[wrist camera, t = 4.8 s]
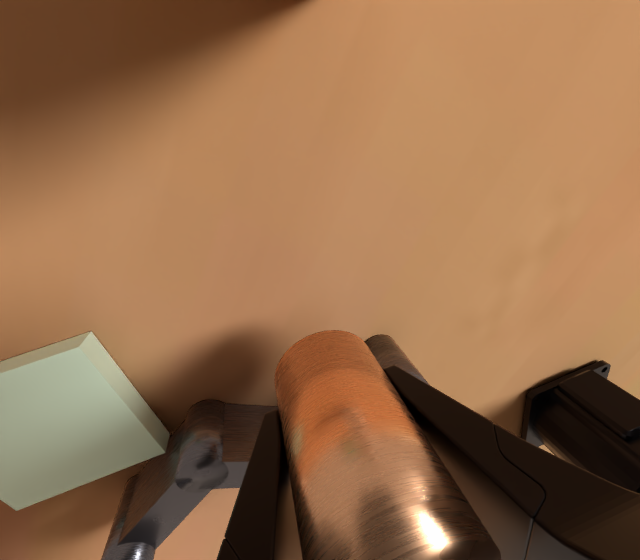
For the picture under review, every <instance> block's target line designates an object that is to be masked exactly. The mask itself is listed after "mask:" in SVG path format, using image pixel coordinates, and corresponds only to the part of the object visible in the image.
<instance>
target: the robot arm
mask: <svg viewBox="0 0 640 560" xmlns="http://www.w3.org/2000/svg"><path fill="white" fill-rule="evenodd" d="M609 370H610V364H608V363H607V362H605V361H602V360H601V361H598V362H596V363H594V364H591V365H589V366H587V367H584V368H582V369H580V370H577V371H575V372H573V373H570V374H568V375H566V376H563V377H561V378H559V379H556V380H554V381H552V382H549V383H547V384H545V385H542V386H540V387H538V388H535V389H533V390H531V391H530V392H529V393H528V394H527V397H526V405H525V413H524V421H523V429H522V437H521V438H520V437H518V436H516V435H514V434H513V433H511V432H509V431H507V430H506V429H504V428H502V427H500V426H499V425H497V424H493V422H492V421H490V420H488V419H487V418H485V417H483V416H481V415H480V414H478V413H476V412H475V411H473V410H471V409H469V408H468V407H466V406H464V405H463V404H461V403H459V402H457V401H456V400H454V399H452V398H451V397H449V396H447V395H445V394H444V393H442V392H440V391H439V390H437V389H435V388H433V387H432V386H430V385H428V384H427V383H425V382H423V381H421V380H420V379H418V378H416V377H415V376H413V375H411V374H409V373H408V372H406V371H404V370H403V369H401V368H399V367H397V366H396V365H391V366H388V367H386V368H384V369H383V371H384V372H385V374H386V375H387V377H388V378H389V380H390V381H391V383H392V385H393V386H394V388H395V389H396V391H397V392H398V394H399V395H400V397H401V398H402V400H403V402H404V403H405V405H406V406H407V408H408V409H409V411H410V412H411V414H412V415H413V417H414V419H415V420H416V422H417V423H418V425H419V426H420V428H421V429H422V431H423V432H424V434H425V436H426V437H427V439H428V440H429V442H430V443H431V445H432V446H433V448H434V449H435V451H436V453H437V454H438V456H439V457H440V459H441V460H442V462H443V463H444V465H445V466H446V468H447V470H448V471H449V473H450V474H451V476H452V477H453V479H454V480H455V482H456V483H457V485H458V487H459V488H460V490H461V491H462V493H463V494H464V496H465V497H466V499H467V500H468V502H469V504H470V505H471V507H472V508H473V510H474V511H475V513H476V514H477V516H478V517H479V519H480V521H481V522H482V524H483V525H484V527H485V528H486V530H487V531H488V533H489V534H490V536H491V538H492V539H493V541H494V542H495V544H496V545H497V547H498V548H499V550H500V553H501V560H640V400H639V399H637V398H636V397H634V396H633V395H631V394H629V393H628V392H626V391H625V390H623V389H621V388H620V387H618V386H617V385H615V384H614V383H612V382H610V381H609V380H607V377H608V373H609ZM543 444H544V445H545V446H546V447H547V448H548V449H549V450H550V451H551V452H552V453H553V454H554V455H553V454H551V453H549V452H547V451H545V450H543V449H541V448H539V446H541V445H543ZM225 538H226V539H223V541H222V544H221V547H220V551H219V554H218V557H217V560H303V559H302V552H301V546H300V540H299V534H298V527H297V521H296V515H295V508H294V502H293V496H292V489H291V483H290V477H289V471H288V464H287V458H286V452H285V445H284V439H283V433H282V426H281V420H280V414H279V411H278V410H277V409H275V410H272V411H270V412H267V413H265V415H264V417H263V420H262V423H261V426H260V429H259V432H258V435H257V438H256V441H255V445H254V448H253V451H252V454H251V457H250V460H249V463H248V466H247V469H246V472H245V475H244V478H243V481H242V484H241V487H240V490H239V493H238V496H237V499H236V502H235V505H234V508H233V511H232V514H231V517H230V521H229V524H228V527H227V530H226V533H225Z"/></svg>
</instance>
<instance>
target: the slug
mask: <svg viewBox="0 0 640 560" xmlns="http://www.w3.org/2000/svg"><path fill="white" fill-rule="evenodd" d="M274 381H275V389H276V395H277V401H278V407H279V414H280V420H281V426H282V433H283V439H284V445H285V452H286V458H287V464H288V471H289V477H290V483H291V489H292V496H293V502H294V508H295V515H296V521H297V527H298V534H299V540H300V546H301V552H302V559H303V560H501V553H500V550H499V548H498V547H497V545H496V544H495V542H494V541H493V539H492V538H491V536H490V534H489V533H488V531H487V530H486V528H485V527H484V525H483V524H482V522H481V521H480V519H479V517H478V516H477V514H476V513H475V511H474V510H473V508H472V507H471V505H470V504H469V502H468V500H467V499H466V497H465V496H464V494H463V493H462V491H461V490H460V488H459V487H458V485H457V483H456V482H455V480H454V479H453V477H452V476H451V474H450V473H449V471H448V470H447V468H446V466H445V465H444V463H443V462H442V460H441V459H440V457H439V456H438V454H437V453H436V451H435V449H434V448H433V446H432V445H431V443H430V442H429V440H428V439H427V437H426V436H425V434H424V432H423V431H422V429H421V428H420V426H419V425H418V423H417V422H416V420H415V419H414V417H413V415H412V414H411V412H410V411H409V409H408V408H407V406H406V405H405V403H404V402H403V400H402V398H401V397H400V395H399V394H398V392H397V391H396V389H395V388H394V386H393V385H392V383H391V381H390V380H389V378H388V377H387V375H386V374H385V372H384V371H383V369H382V368H381V366H380V364H379V363H378V361H377V360H376V358H375V357H374V355H373V354H372V352H371V351H370V349H369V347H368V346H367V345H366V343H365V342H364V341H363V340H362V339H361V338H359V337H358V336H356V335H354V334H352V333H349V332H345V331H338V330H331V331H323V332H318V333H315V334H312V335H310V336H307V337H305V338H303V339H302V340H300V341H298V342H297V343H295V344H294V345H293V346H292V347H291V348H289V349H288V351H287V352H286V353H285V354H284V355H283V357H282V358H281V360H280V361H279V363H278V365H277V368H276V372H275V379H274Z"/></svg>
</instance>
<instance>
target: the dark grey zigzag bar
mask: <svg viewBox="0 0 640 560" xmlns="http://www.w3.org/2000/svg"><path fill="white" fill-rule="evenodd" d="M365 343H366V345H367V346H368V347H369V349H370V351H371V352H372V354H373V355H374V357H375V358H376V360H377V361H378V363H379V364H380V366H381V368H382V369H384V368H386V367H388V366H391V365H396V366H397V367H399V368H401V369H403V370H404V371H406V372H408V373H409V374H411V375H413V376H415V377H416V378H418V379H420V380H421V381H423V382H425V383H427V381H426V380H425V379H424V378H423V376H422V375H421V374H420V373H419V371H418V370H417V369H416V368H415V366H414V365H413V364H412V363H411V361H410V360H409V359H408V358H407V356H406V355H405V354H404V353H403V351H402V350H401V349H400V348H399V346H398V345H397V344H396V343H395V341H394V340H393V339H392V338H391V337H390V336H388V335H376V336H373V337H371V338H370V339H368V340H367V341H366V342H365ZM427 384H428V383H427ZM428 385H429V384H428ZM275 409H277V410H278V411H279V407H275V406H257V405H239V404H225V403H223V402H221V401H218V400H205V401H201V402H198V403H196V404H195V405H193V406H192V407H191V408H190V409H189V411H188V413H187V416H186V420H185V421H184V422H183V423H182V424H181V425H180V427H179V428H178V429H177V430H176V431H175V432H174V434H173V435H172V436H171V437H170V438H169V440H168V444H167V448H166V453H163V454H161V455H158V456H156V457H153V458H152V459H151V460H150V461H149V463H148V464H147V465H146V466H145V467H144V468H143V470H142V471H141V472H140V473H139V474H138V475H136V476H134V477H132V478H131V479H129V480H128V481H127V483H126V485H125V488H124V491H123V494H122V497H121V500H120V503H119V506H118V509H117V513H116V516H115V519H114V522H113V525H112V528H111V531H110V534H109V537H108V540H107V543H106V546H105V549H104V552H103V555H102V559H101V560H153V559H154V554H155V550H156V548H157V547H158V546H159V545H160V544H161V543H162V542H163V541H164V540H165V539H166V538H167V537H168V536H169V535H170V533H171V532H172V531H173V530H174V529H175V528H176V527H177V526H178V525H179V524H180V523H181V522H182V521H183V520H184V519H185V517H186V516H187V515H188V514H189V513H190V512H191V511H192V510H193V509H194V508H195V507H196V506H197V505H198V504H199V502H200V501H201V500H202V499H203V498H204V497H205V496H206V495H207V494H208V493H209V492H210V491H211V490H212V489H220V488H240V487H241V484H242V481H243V478H244V475H245V472H246V469H247V466H248V463H249V460H250V457H251V454H252V451H253V448H254V445H255V441H256V438H257V435H258V432H259V429H260V426H261V423H262V420H263V417H264V415H265V413H267V412H270V411H272V410H275Z"/></svg>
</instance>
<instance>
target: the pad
mask: <svg viewBox="0 0 640 560" xmlns="http://www.w3.org/2000/svg"><path fill="white" fill-rule="evenodd" d="M169 435H170V433H169V432H168V430H167V429H166V428H165V427H164V425H163V424H162V423H161V421H160V420H159V419H158V417H157V416H156V415H155V414H154V412H153V411H152V410H151V408H150V407H149V406H148V404H147V403H146V402H145V401H144V399H143V398H142V397H141V395H140V394H139V393H138V391H137V390H136V389H135V387H134V386H133V385H132V384H131V382H130V381H129V380H128V378H127V377H126V376H125V374H124V373H123V372H122V371H121V369H120V368H119V367H118V365H117V364H116V363H115V361H114V360H113V359H112V358H111V356H110V355H109V354H108V352H107V351H106V350H105V348H104V347H103V346H102V345H101V343H100V342H99V341H98V339H97V338H96V337H95V335H94V334H93V333H92V331H90V332H87V333H84V334H81V335H78V336H75V337H72V338H69V339H66V340H63V341H60V342H57V343H54V344H51V345H48V346H45V347H42V348H39V349H36V350H33V351H30V352H27V353H24V354H21V355H18V356H15V357H12V358H9V359H7V360H4V361H1V362H0V500H2V501H3V502H4V503H6V504H7V505H9V506H10V507H12V508H13V509H14V510H16V511H18V510H20V509H23V508H25V507H28V506H30V505H33V504H36V503H38V502H41V501H43V500H46V499H48V498H51V497H53V496H56V495H59V494H61V493H64V492H66V491H69V490H71V489H74V488H76V487H79V486H82V485H84V484H87V483H89V482H92V481H94V480H97V479H99V478H102V477H105V476H107V475H110V474H112V473H115V472H117V471H120V470H122V469H125V468H127V467H130V466H133V465H135V464H138V463H140V462H143V461H145V460H148V459H150V458H153V457H156V456H158V455H161V454H163V453H166V448H167V444H168V440H169Z"/></svg>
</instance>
